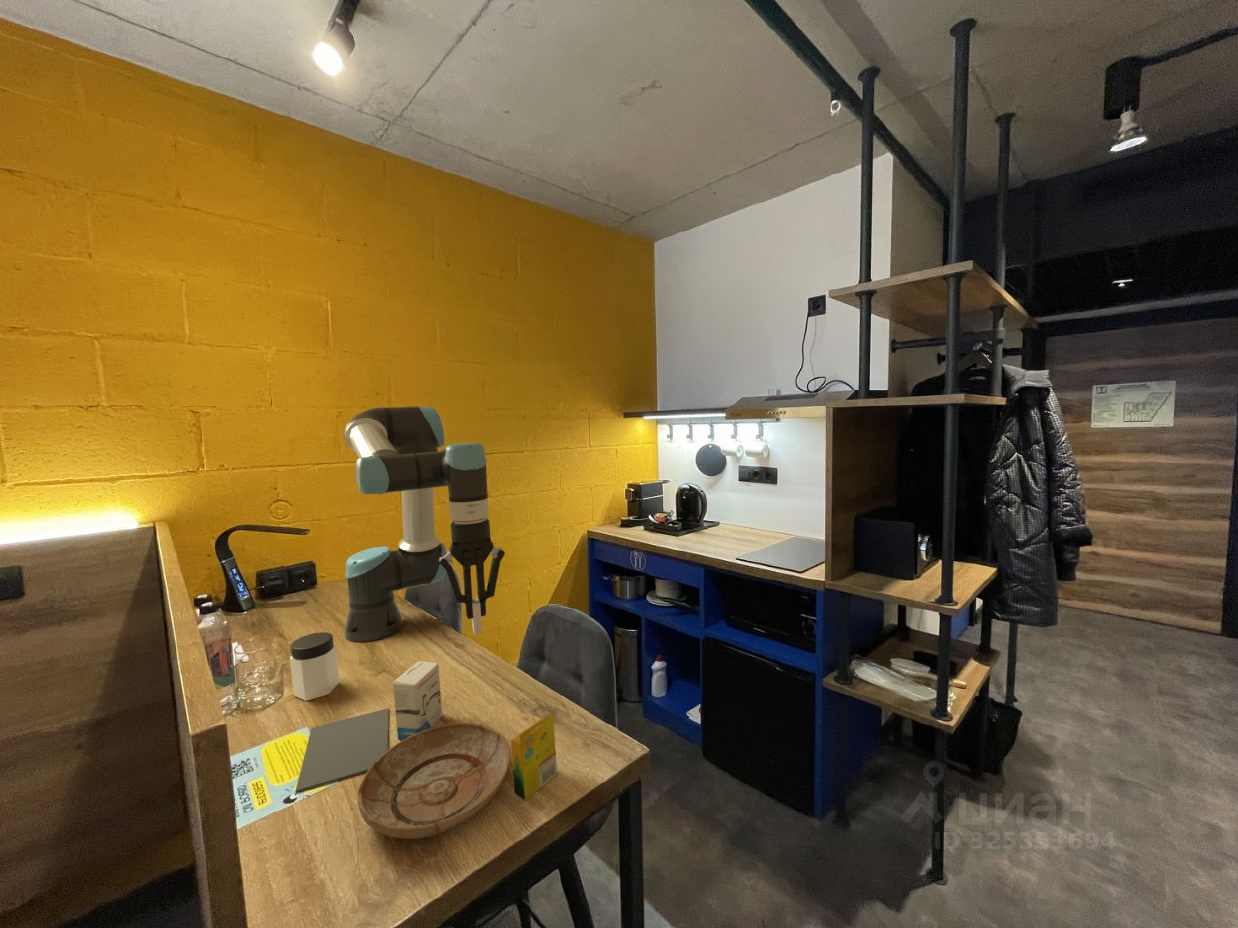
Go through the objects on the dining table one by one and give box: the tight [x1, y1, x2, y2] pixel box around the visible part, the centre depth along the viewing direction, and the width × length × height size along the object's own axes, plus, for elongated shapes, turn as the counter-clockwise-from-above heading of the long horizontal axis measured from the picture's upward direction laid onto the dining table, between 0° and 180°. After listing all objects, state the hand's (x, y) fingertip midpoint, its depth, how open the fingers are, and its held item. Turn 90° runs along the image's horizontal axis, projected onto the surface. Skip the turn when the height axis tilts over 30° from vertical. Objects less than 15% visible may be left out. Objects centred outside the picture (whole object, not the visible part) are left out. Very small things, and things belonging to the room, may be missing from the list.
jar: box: [289, 631, 340, 702], centre depth 112 cm, size 9×8×12 cm
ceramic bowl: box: [357, 722, 512, 840], centre depth 81 cm, size 23×24×5 cm
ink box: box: [392, 660, 443, 741], centre depth 98 cm, size 9×5×12 cm, turn 168°
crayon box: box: [510, 712, 558, 802], centre depth 82 cm, size 7×3×12 cm, turn 140°
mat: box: [295, 708, 389, 794], centre depth 93 cm, size 18×14×1 cm
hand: (477, 631), depth 101 cm, fingers closed
